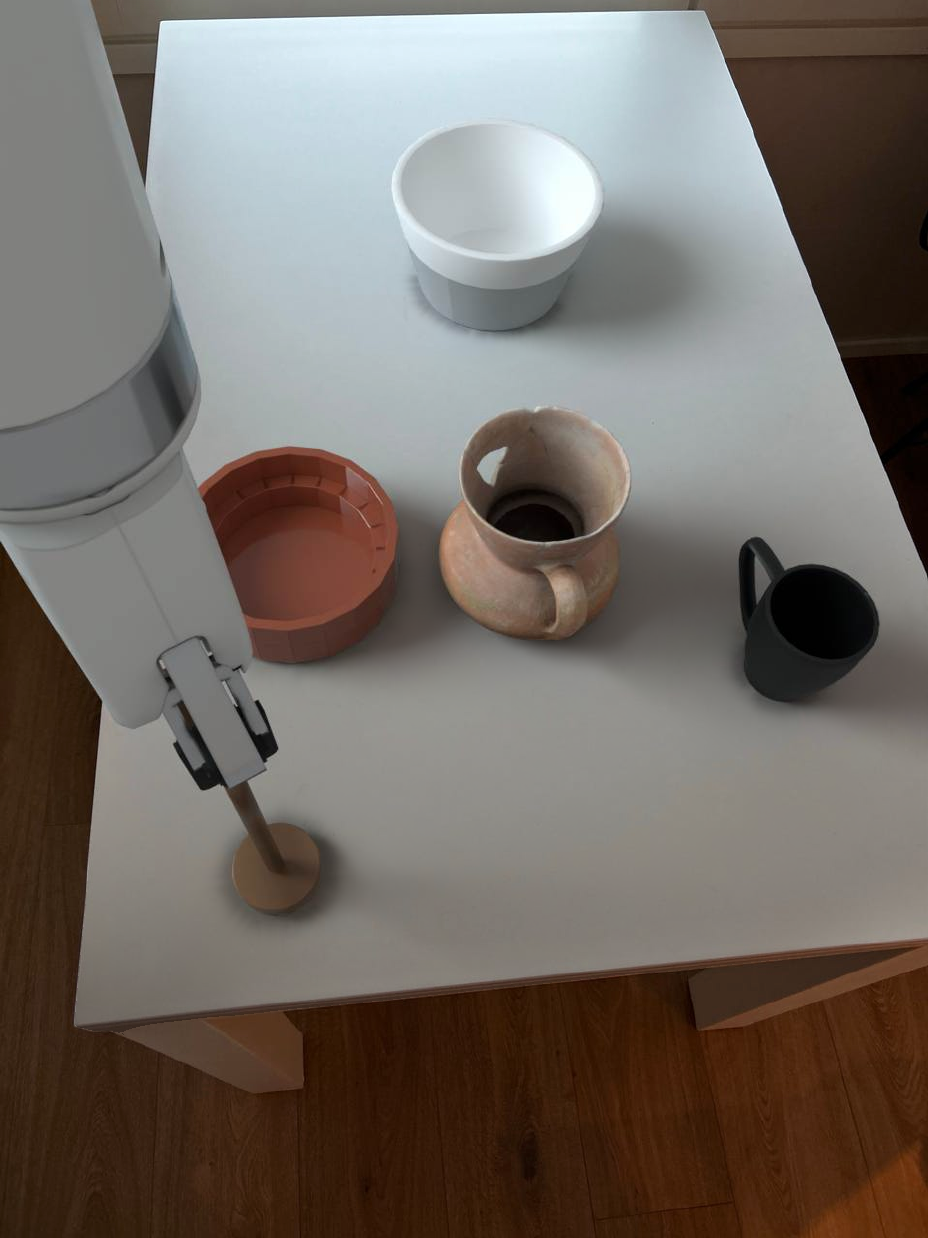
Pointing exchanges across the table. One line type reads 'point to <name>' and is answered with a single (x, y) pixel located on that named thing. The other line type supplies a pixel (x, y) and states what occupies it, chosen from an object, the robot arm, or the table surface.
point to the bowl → (495, 218)
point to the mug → (801, 625)
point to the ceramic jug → (537, 523)
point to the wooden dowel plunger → (270, 856)
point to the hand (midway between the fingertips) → (185, 665)
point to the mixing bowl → (304, 549)
